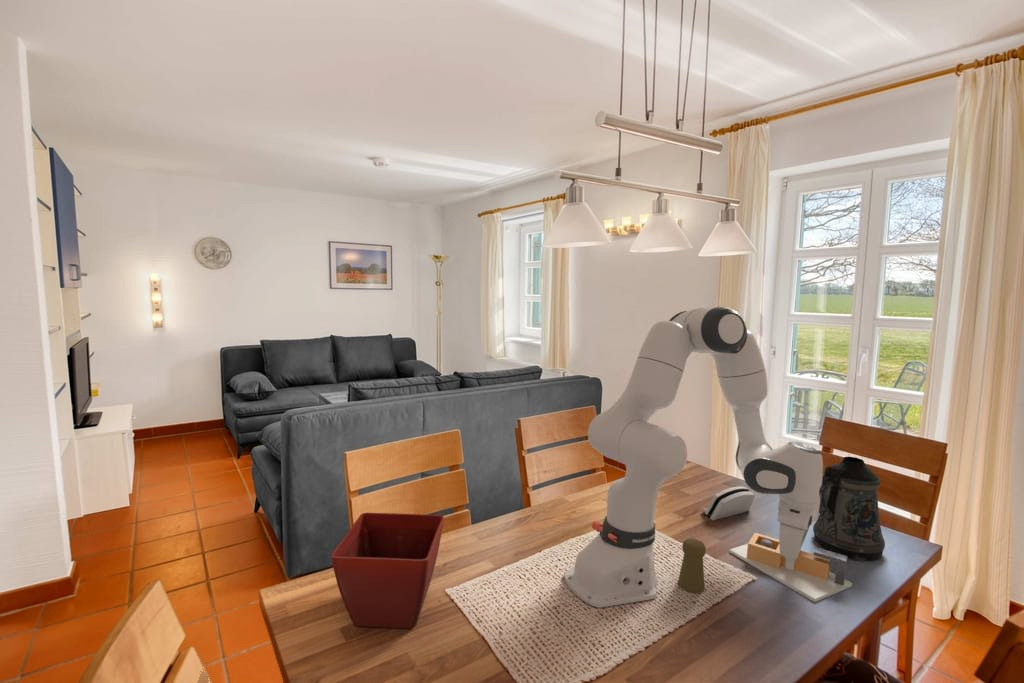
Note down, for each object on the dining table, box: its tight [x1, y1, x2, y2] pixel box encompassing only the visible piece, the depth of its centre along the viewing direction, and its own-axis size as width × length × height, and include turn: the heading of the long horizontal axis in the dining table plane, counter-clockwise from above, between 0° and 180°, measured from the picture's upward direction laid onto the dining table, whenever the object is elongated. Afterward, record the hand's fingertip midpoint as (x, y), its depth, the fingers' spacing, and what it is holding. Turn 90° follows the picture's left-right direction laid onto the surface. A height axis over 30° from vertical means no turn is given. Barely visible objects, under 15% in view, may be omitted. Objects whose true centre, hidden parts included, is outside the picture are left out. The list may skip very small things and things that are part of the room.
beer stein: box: [812, 456, 886, 562], centre depth 135 cm, size 16×19×25 cm
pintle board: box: [729, 539, 853, 603], centre depth 125 cm, size 14×23×5 cm, turn 27°
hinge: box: [700, 486, 755, 521], centre depth 155 cm, size 17×5×10 cm, turn 117°
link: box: [747, 532, 831, 580], centre depth 126 cm, size 18×8×4 cm, turn 52°
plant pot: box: [331, 512, 445, 629], centre depth 105 cm, size 19×19×17 cm
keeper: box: [813, 546, 848, 586], centre depth 120 cm, size 7×3×7 cm, turn 52°
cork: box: [677, 538, 707, 594], centre depth 117 cm, size 6×6×11 cm
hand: (793, 559), depth 125 cm, fingers open, 8 cm apart
